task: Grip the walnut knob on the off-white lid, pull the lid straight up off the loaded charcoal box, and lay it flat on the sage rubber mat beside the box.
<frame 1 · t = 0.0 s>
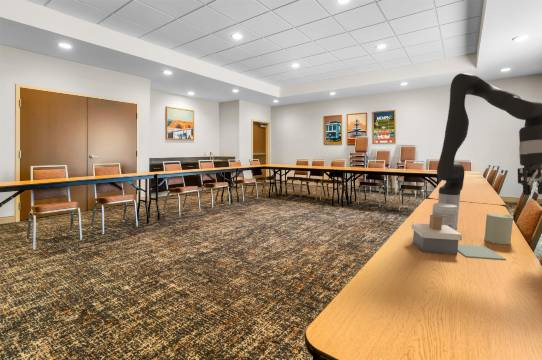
hand: (534, 194, 109), 22 cm above the table, tool pointing down, fingers open, 8 cm apart
supplement tub: (442, 237, 129), on the table
mat: (475, 251, 109), on the table
lid: (435, 230, 112), point 7 cm above the table, touching box
box: (433, 247, 113), on the table
can: (497, 241, 123), on the table
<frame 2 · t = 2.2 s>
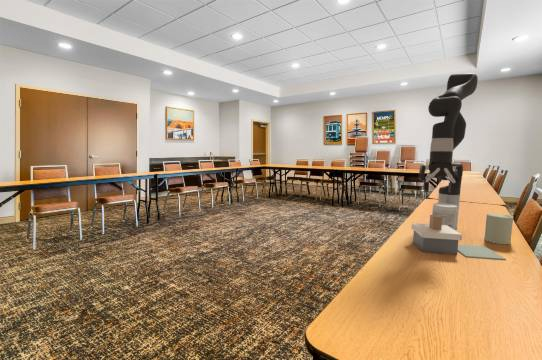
hand: (438, 192, 111), 23 cm above the table, tool pointing down, fingers open, 8 cm apart
nothing on the table moved.
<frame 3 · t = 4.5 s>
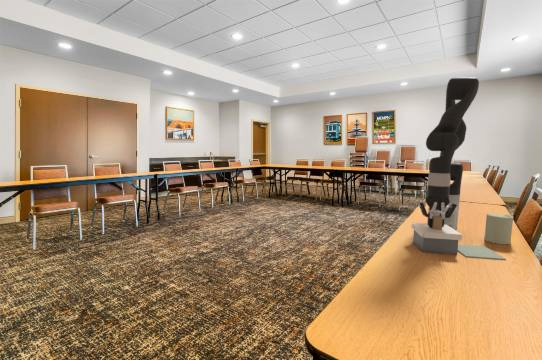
hand: (435, 227, 112), 8 cm above the table, tool pointing down, fingers closed on lid, 3 cm apart
lid: (435, 230, 112), point 7 cm above the table, touching box, gripper
everything else where it was.
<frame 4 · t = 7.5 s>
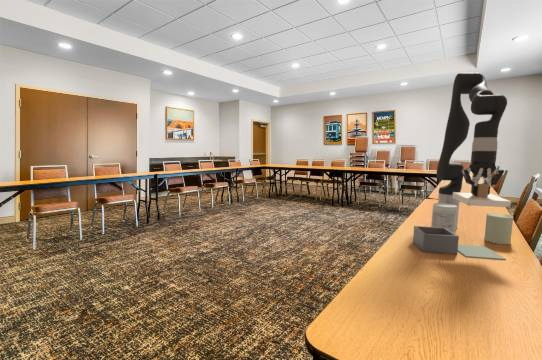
hand: (479, 195, 107), 22 cm above the table, tool pointing down, fingers closed on lid, 3 cm apart
lid: (479, 198, 107), point 21 cm above the table, touching gripper
everything else where it was.
when the fingers open (4 cm above the table, at t = 10.5 s): lid drops 1 cm, resting on mat.
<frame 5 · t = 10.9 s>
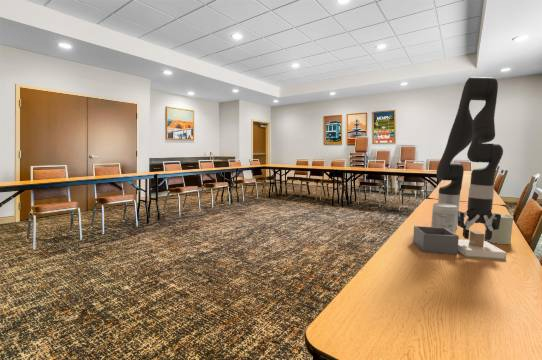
hand: (476, 239, 109), 5 cm above the table, tool pointing down, fingers open, 6 cm apart
lid: (475, 247, 109), point 2 cm above the table, touching mat
everything else where it was.
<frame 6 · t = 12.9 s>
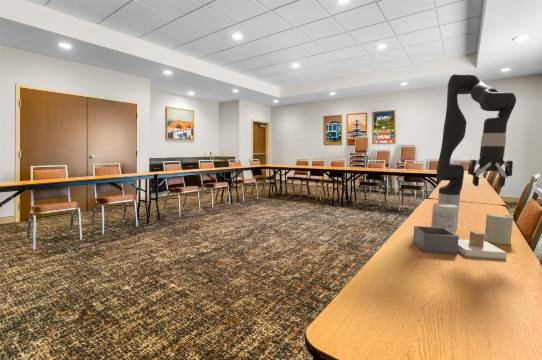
hand: (487, 186, 112), 25 cm above the table, tool pointing down, fingers open, 8 cm apart
nothing on the table moved.
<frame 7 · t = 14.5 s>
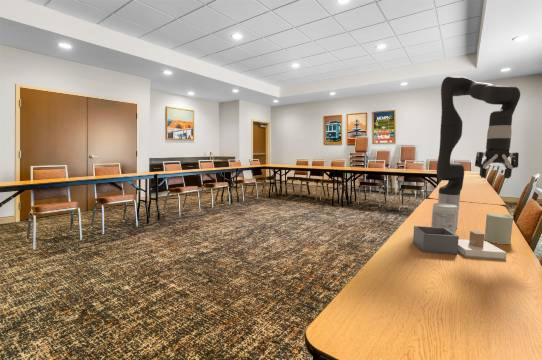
hand: (494, 177, 115), 28 cm above the table, tool pointing down, fingers open, 8 cm apart
nothing on the table moved.
at the end: lid inside the target area on the mat (0.1 cm from its centre), point 1.6 cm above the mat's base; lid tilted 0°; the gripper is holding nothing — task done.
